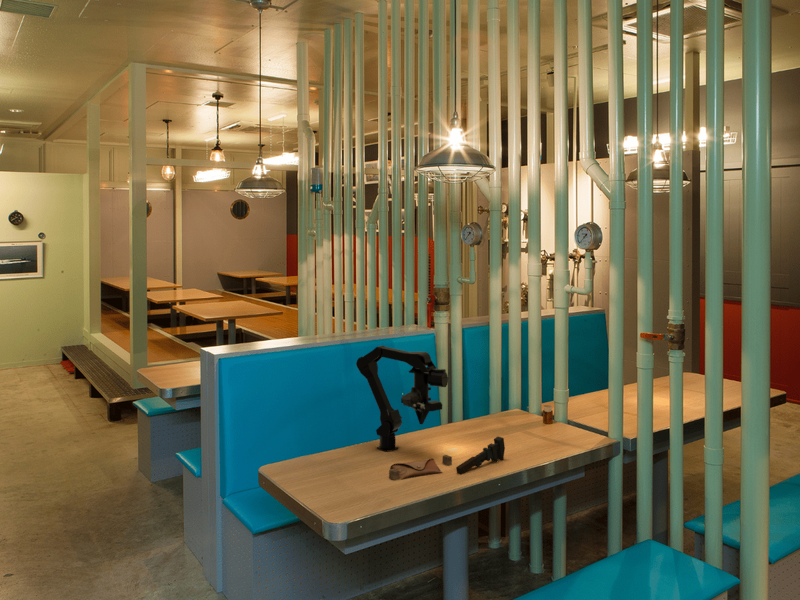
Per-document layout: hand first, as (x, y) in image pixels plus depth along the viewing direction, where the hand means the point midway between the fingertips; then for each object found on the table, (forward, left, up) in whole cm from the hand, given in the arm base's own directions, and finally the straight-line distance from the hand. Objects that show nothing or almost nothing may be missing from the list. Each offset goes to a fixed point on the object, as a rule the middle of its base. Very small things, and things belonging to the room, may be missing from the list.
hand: (421, 424), depth 254 cm
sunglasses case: (+15, -15, -13) cm, 25 cm away
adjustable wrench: (+24, +8, -12) cm, 29 cm away
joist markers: (+15, -13, -12) cm, 23 cm away
